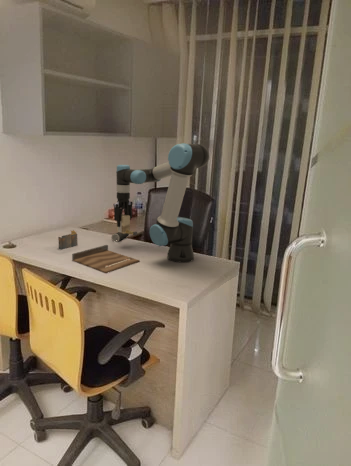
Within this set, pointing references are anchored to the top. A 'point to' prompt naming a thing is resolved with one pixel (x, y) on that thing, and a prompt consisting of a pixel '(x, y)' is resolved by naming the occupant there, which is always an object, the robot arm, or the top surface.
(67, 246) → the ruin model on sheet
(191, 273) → the top surface
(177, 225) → the robot arm
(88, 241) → the top surface
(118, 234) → the flashlight
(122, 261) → the board
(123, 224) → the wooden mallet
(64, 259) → the top surface
